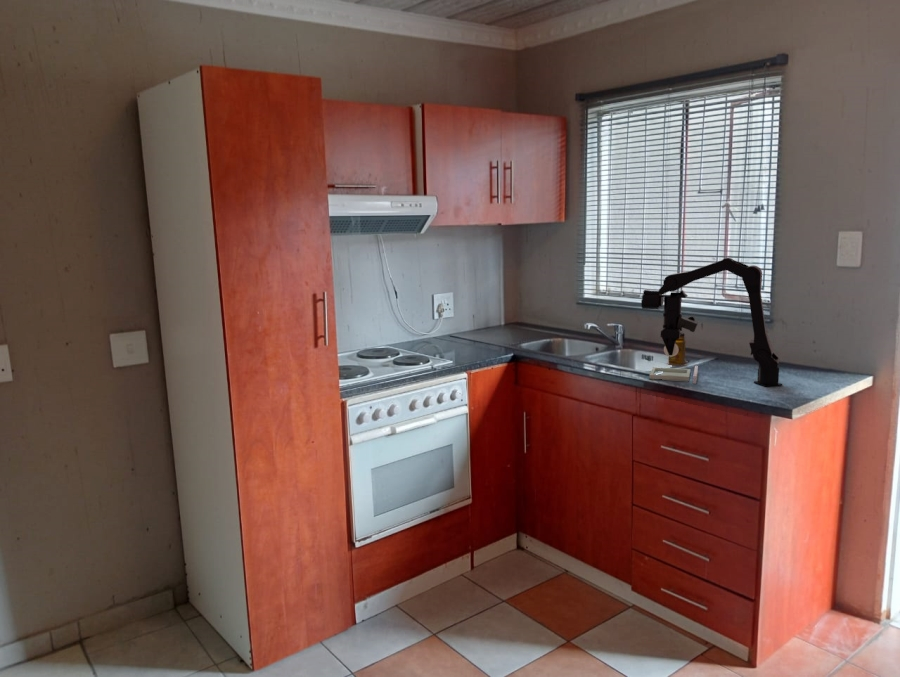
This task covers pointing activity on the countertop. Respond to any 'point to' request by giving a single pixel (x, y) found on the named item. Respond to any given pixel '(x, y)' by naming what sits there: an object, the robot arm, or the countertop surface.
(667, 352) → the ball
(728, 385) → the countertop surface
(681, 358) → the condiment
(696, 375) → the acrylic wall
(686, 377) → the tray
